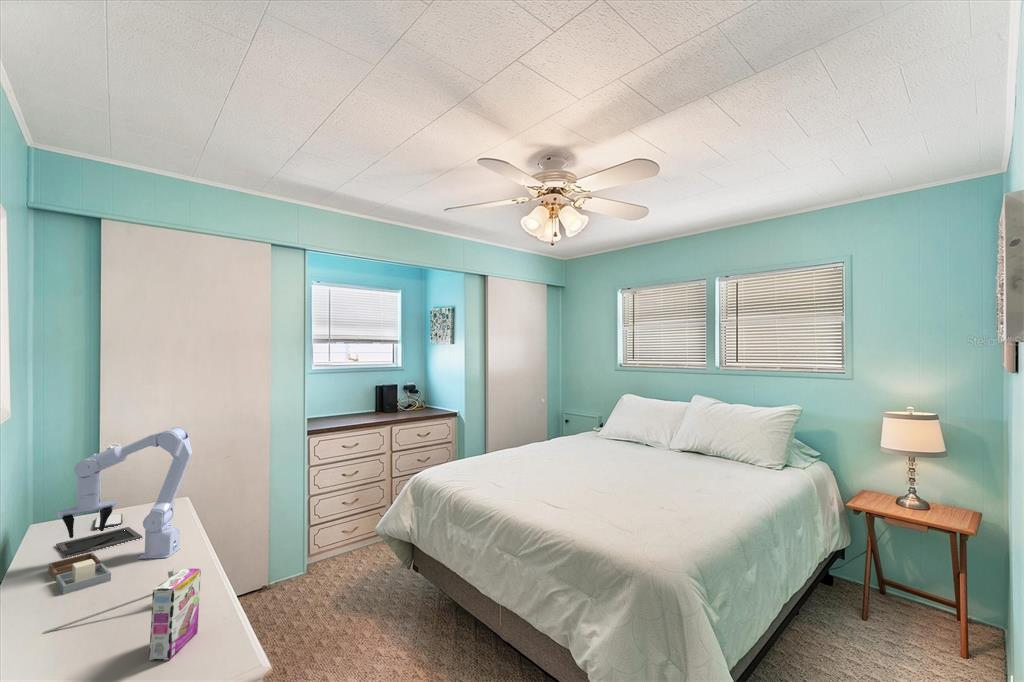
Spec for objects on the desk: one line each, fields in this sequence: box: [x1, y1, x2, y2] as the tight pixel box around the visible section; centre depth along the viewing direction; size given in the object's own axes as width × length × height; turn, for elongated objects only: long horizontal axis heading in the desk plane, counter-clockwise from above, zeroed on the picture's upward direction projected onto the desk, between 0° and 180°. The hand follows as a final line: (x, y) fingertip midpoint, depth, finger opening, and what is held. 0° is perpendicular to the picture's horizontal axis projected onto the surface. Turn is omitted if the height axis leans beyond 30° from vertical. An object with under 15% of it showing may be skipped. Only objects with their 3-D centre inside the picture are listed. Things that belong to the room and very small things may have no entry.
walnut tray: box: [47, 552, 102, 582], centre depth 149 cm, size 11×11×2 cm
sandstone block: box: [72, 559, 95, 583], centre depth 142 cm, size 4×4×5 cm
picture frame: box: [55, 526, 143, 559], centre depth 171 cm, size 16×2×21 cm
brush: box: [42, 567, 176, 635], centre depth 125 cm, size 4×28×9 cm, turn 122°
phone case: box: [93, 513, 124, 531], centre depth 191 cm, size 9×2×16 cm
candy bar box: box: [148, 568, 202, 662], centre depth 112 cm, size 11×5×16 cm, turn 5°
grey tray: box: [55, 562, 112, 595], centre depth 142 cm, size 11×11×2 cm
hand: (86, 533), depth 156 cm, fingers open, 7 cm apart
